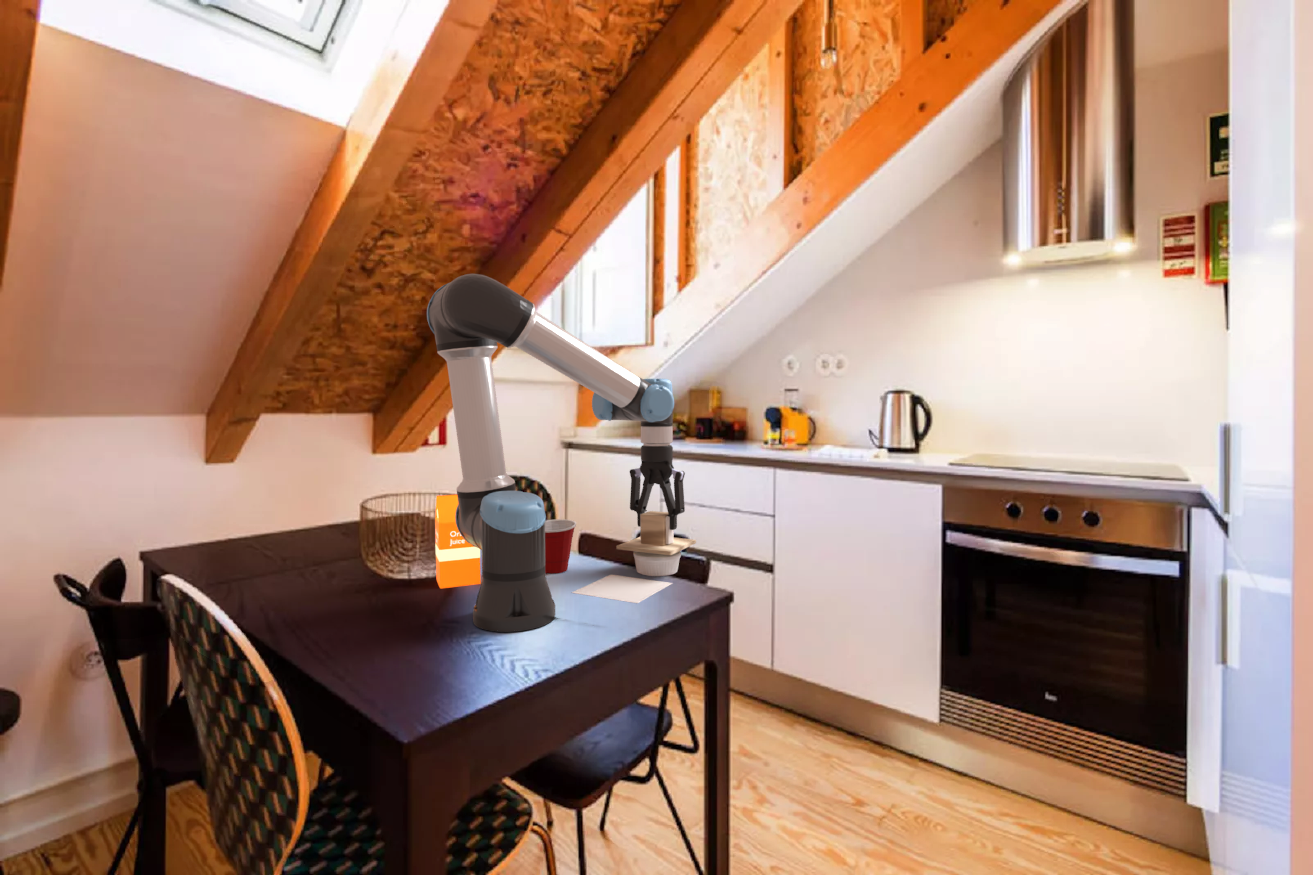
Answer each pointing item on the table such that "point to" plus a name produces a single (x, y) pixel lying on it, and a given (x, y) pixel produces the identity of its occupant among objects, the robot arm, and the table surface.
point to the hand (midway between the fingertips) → (657, 541)
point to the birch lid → (655, 536)
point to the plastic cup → (558, 544)
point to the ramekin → (656, 563)
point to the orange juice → (453, 548)
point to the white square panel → (623, 588)
